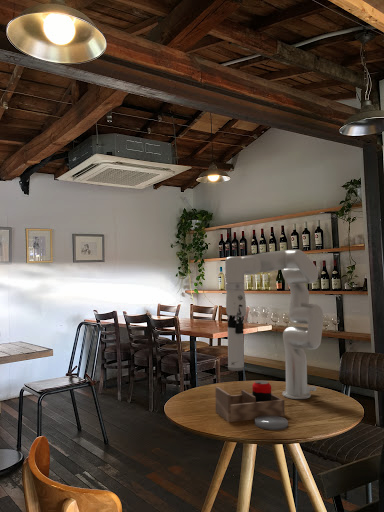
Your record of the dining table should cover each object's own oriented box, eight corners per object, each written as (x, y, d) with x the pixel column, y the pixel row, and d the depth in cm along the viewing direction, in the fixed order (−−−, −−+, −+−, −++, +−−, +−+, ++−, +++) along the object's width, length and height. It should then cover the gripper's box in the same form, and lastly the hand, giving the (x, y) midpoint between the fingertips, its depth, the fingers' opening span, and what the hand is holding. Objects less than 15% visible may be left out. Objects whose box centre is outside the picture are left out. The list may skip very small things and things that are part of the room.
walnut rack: (268, 406, 182) (268, 382, 182) (284, 415, 170) (284, 389, 170) (215, 411, 174) (215, 386, 175) (228, 422, 162) (228, 395, 163)
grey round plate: (277, 417, 167) (277, 413, 167) (294, 427, 156) (294, 423, 156) (249, 421, 163) (249, 417, 163) (264, 431, 152) (264, 427, 152)
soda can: (248, 412, 174) (248, 382, 174) (259, 408, 179) (259, 379, 180) (264, 416, 168) (264, 385, 169) (275, 412, 174) (274, 382, 175)
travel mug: (234, 371, 167) (233, 319, 168) (225, 368, 173) (224, 318, 174) (247, 370, 170) (246, 318, 171) (238, 367, 176) (237, 317, 177)
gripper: (253, 287, 166) (253, 334, 165) (234, 286, 182) (235, 329, 181) (235, 288, 163) (235, 335, 163) (218, 287, 180) (218, 330, 179)
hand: (235, 332), depth 172 cm, fingers closed on travel mug, 6 cm apart
